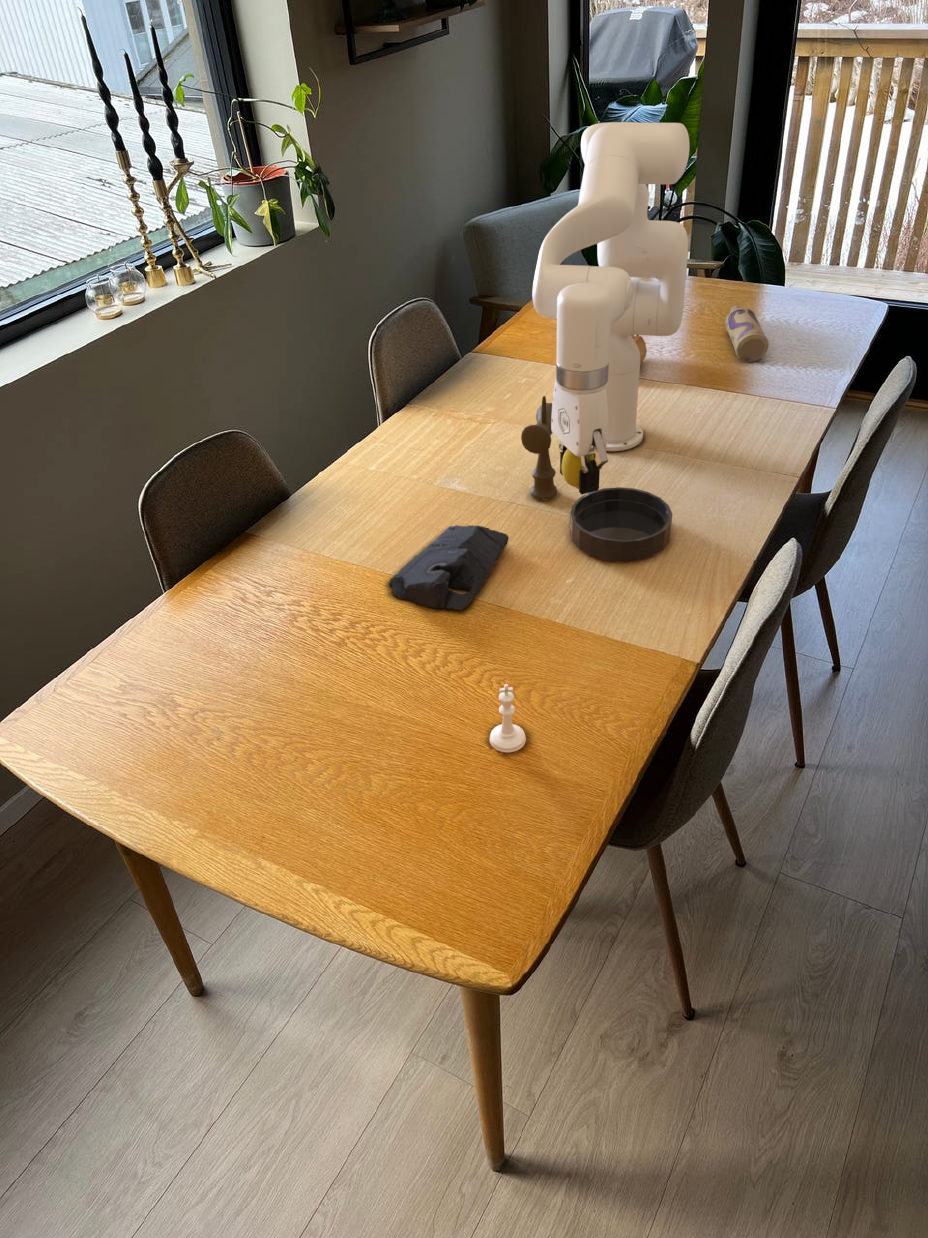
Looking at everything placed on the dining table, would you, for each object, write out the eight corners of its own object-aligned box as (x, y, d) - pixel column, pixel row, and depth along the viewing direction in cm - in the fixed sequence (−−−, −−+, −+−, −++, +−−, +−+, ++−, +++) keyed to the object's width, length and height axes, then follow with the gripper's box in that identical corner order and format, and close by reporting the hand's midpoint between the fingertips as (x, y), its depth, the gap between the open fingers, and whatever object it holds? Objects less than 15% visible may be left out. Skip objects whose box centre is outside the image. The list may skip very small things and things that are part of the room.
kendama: (567, 484, 184) (569, 386, 171) (550, 510, 177) (551, 410, 164) (537, 479, 186) (537, 382, 173) (519, 505, 179) (518, 405, 166)
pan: (553, 522, 174) (553, 501, 171) (637, 500, 178) (639, 478, 175) (599, 573, 161) (600, 551, 158) (689, 547, 165) (691, 525, 163)
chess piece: (487, 728, 134) (485, 674, 128) (523, 725, 134) (522, 670, 128) (491, 754, 130) (489, 699, 124) (528, 750, 130) (527, 696, 124)
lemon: (595, 498, 149) (596, 452, 144) (559, 496, 150) (559, 450, 145) (598, 480, 154) (600, 434, 149) (563, 478, 155) (564, 433, 150)
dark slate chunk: (524, 548, 168) (524, 524, 165) (460, 619, 153) (459, 595, 150) (448, 526, 174) (446, 504, 171) (380, 593, 160) (377, 569, 157)
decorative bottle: (767, 362, 221) (772, 334, 217) (734, 363, 222) (737, 335, 218) (749, 319, 241) (753, 292, 237) (718, 319, 242) (721, 293, 238)
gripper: (533, 356, 145) (533, 463, 157) (587, 402, 133) (583, 514, 144) (577, 346, 147) (575, 452, 159) (635, 390, 135) (627, 502, 146)
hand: (579, 481), depth 151 cm, fingers closed on lemon, 5 cm apart
